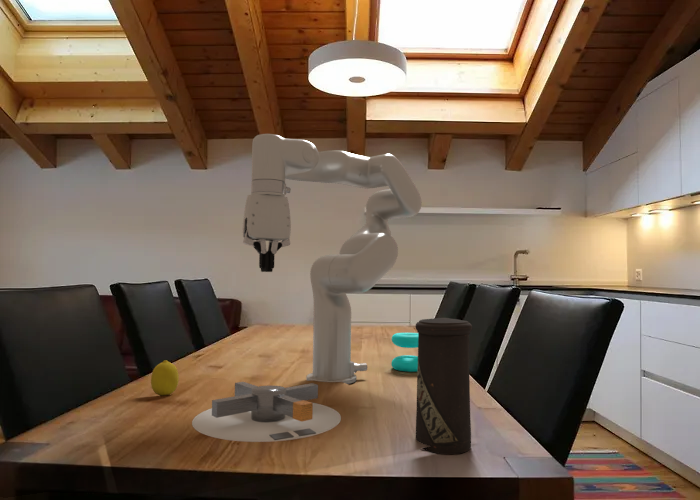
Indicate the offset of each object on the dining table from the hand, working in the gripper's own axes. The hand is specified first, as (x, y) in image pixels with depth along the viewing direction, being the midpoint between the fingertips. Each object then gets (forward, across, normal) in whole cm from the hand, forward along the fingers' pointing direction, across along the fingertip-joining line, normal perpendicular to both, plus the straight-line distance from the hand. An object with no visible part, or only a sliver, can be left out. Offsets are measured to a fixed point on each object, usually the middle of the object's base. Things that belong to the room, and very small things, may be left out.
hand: (266, 271), depth 113 cm
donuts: (+27, -47, -10) cm, 55 cm away
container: (+27, -13, +45) cm, 54 cm away
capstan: (+26, +7, +21) cm, 34 cm away
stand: (+27, +7, +21) cm, 35 cm away
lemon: (+27, +20, -6) cm, 34 cm away
